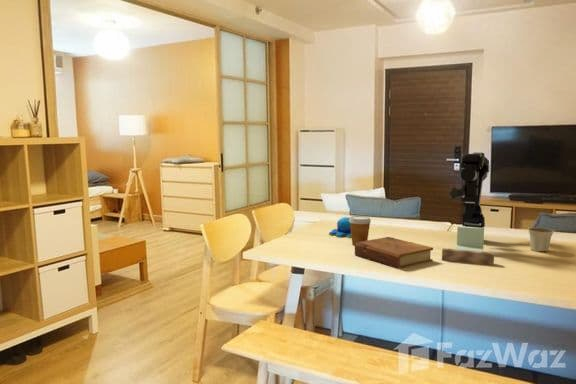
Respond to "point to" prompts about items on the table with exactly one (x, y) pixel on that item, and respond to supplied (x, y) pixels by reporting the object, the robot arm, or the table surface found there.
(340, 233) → the plush toy
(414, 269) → the table surface
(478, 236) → the bookend
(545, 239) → the flower pot
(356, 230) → the disposable coffee cup
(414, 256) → the diary
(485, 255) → the board
